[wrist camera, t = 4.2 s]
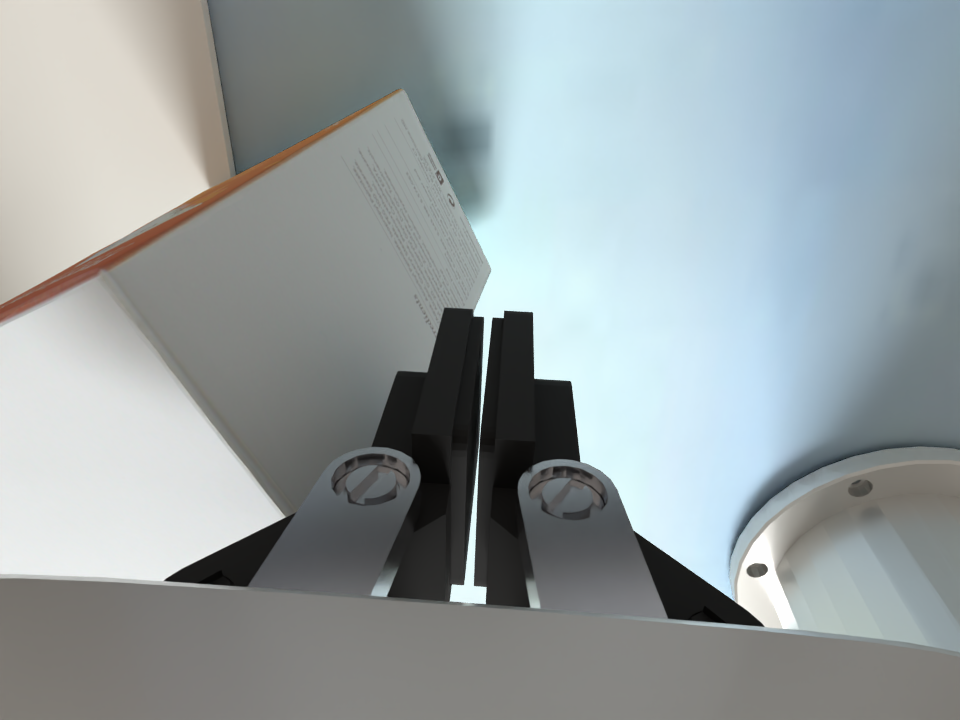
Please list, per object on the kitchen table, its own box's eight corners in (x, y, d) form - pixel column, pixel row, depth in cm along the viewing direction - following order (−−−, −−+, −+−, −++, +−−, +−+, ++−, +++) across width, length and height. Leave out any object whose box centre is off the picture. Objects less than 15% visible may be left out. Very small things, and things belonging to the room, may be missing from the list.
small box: (405, 81, 18) (98, 262, 7) (496, 270, 21) (367, 605, 10) (202, 186, 21) (-228, 425, 10) (304, 341, 24) (46, 657, 13)
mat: (203, -21, 19) (197, -21, 18) (270, 384, 26) (266, 390, 25) (-242, -32, 19) (-256, -33, 19) (-60, 364, 26) (-68, 369, 26)
